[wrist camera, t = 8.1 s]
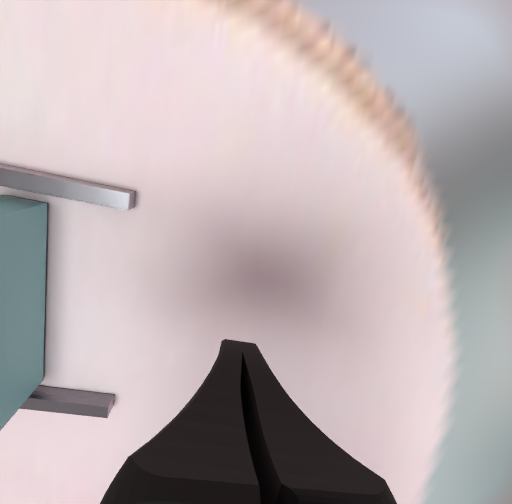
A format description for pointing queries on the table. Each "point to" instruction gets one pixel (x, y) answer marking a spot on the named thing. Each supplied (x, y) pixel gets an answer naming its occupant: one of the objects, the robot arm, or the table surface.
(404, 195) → the table surface
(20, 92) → the table surface
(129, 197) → the vise
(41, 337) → the block
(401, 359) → the table surface
